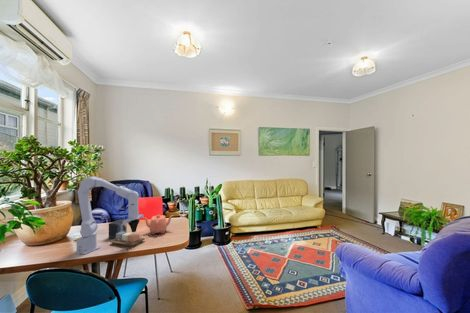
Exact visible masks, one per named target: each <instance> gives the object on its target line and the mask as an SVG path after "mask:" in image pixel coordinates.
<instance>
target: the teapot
mask: <svg viewBox="0 0 470 313" xmlns="http://www.w3.org/2000/svg"><path fill="white" fill-rule="evenodd" d="M172 217H174V214H172V215H170V216H169V217H168V220H167V219H166V215H163V214H162V215H161V214H156V215H153V216H152V217H151V219H150V222H149V220H148V218H147V217H143V218H142V219H144V221H145V224H146V227H147V228H149V232H150V234H151V236H153V235H156V233H157V234H159V233H160V234H161V233H163V234H165V232H166V230H167V229H168V226H169V225H170V224H171V220H172Z"/></svg>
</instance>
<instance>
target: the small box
mask: <svg viewBox="0 0 470 313" xmlns="http://www.w3.org/2000/svg"><path fill="white" fill-rule="evenodd" d="M123 220H124V219H116V220H114V221H112V222H109V223H108V239H111V240H114V239H116V233H119V232H121V231H122V232H128V231H127V229H128V228H127V227H128V226H127V224H128V223H126V224H123Z"/></svg>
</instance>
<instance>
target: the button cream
mask: <svg viewBox="0 0 470 313" xmlns="http://www.w3.org/2000/svg"><path fill="white" fill-rule="evenodd" d="M131 234H134V232H128V231H127V233H125V234H123V235H122V240H124V241H128V236H129V235H131Z"/></svg>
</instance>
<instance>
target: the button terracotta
mask: <svg viewBox="0 0 470 313" xmlns="http://www.w3.org/2000/svg"><path fill="white" fill-rule="evenodd" d="M139 237H140V233H135V232H133V234H131V235H129V236H128V241H129V242H135V241H137V240H139Z"/></svg>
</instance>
